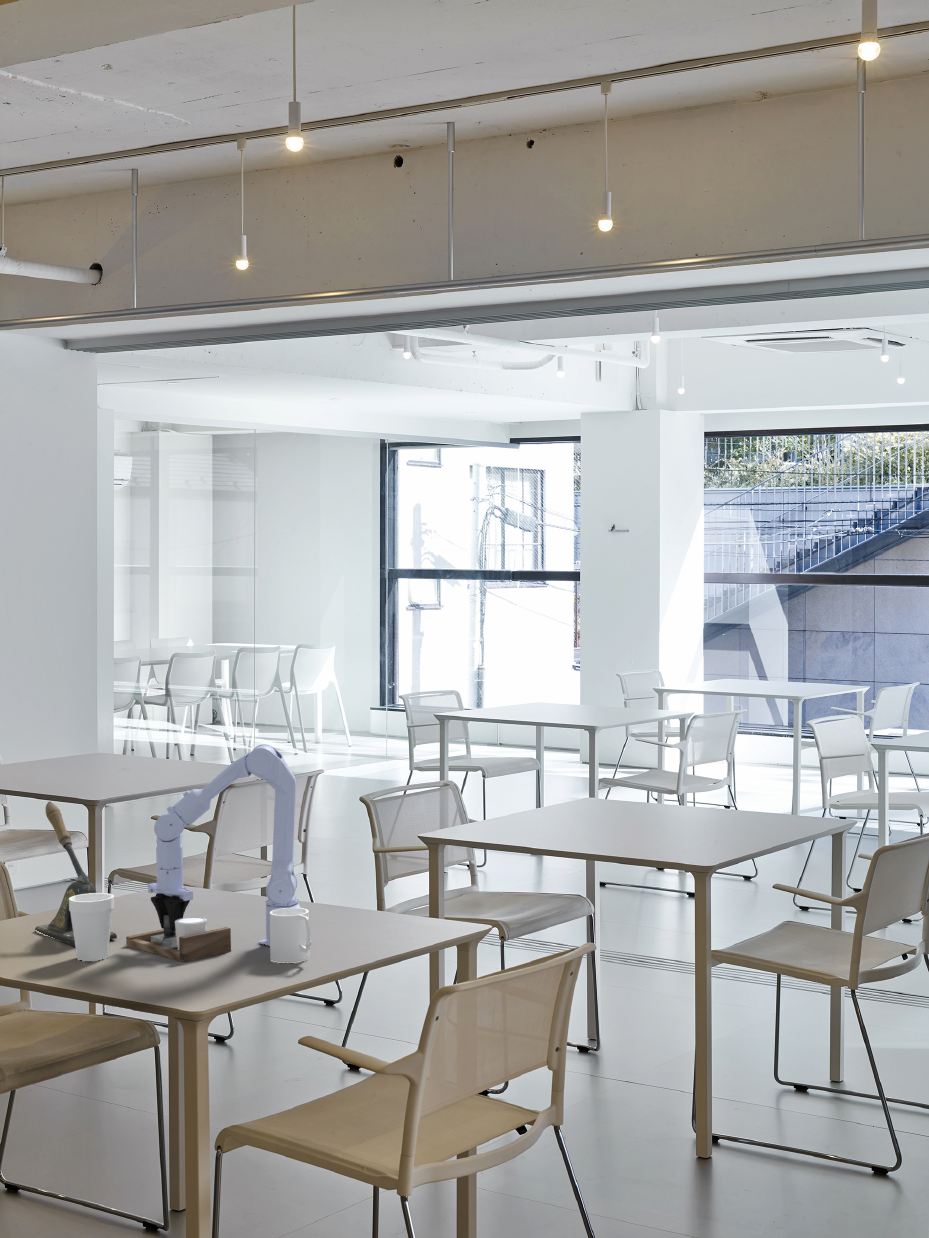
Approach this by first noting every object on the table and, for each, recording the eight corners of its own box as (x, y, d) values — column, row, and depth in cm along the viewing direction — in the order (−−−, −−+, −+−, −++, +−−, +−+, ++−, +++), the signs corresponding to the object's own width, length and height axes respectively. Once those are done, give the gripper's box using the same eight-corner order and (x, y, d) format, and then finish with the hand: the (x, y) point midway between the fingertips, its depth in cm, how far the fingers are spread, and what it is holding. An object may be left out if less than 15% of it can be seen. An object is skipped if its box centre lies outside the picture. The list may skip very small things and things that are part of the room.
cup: (293, 969, 289) (292, 920, 289) (263, 958, 298) (262, 911, 298) (326, 962, 294) (326, 914, 294) (295, 952, 303) (295, 905, 303)
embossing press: (72, 949, 310) (69, 813, 310) (31, 930, 328) (29, 802, 328) (118, 941, 317) (116, 808, 316) (76, 923, 335) (74, 798, 335)
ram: (193, 943, 311) (193, 912, 311) (162, 950, 305) (161, 919, 305) (182, 940, 314) (181, 910, 314) (151, 947, 308) (150, 916, 308)
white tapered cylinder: (200, 956, 301) (199, 923, 301) (170, 955, 302) (169, 922, 302) (212, 948, 308) (211, 916, 308) (182, 947, 309) (182, 915, 309)
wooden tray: (230, 950, 305) (230, 928, 305) (183, 961, 296) (183, 938, 296) (172, 935, 320) (172, 913, 320) (126, 945, 312) (125, 923, 312)
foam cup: (74, 965, 295) (73, 903, 295) (65, 956, 303) (64, 895, 303) (119, 959, 299) (118, 898, 299) (109, 950, 307) (108, 891, 307)
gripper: (135, 866, 312) (136, 927, 312) (173, 873, 302) (174, 936, 302) (162, 861, 317) (163, 921, 318) (200, 869, 307) (201, 931, 307)
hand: (170, 928), depth 310 cm, fingers closed on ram, 3 cm apart
